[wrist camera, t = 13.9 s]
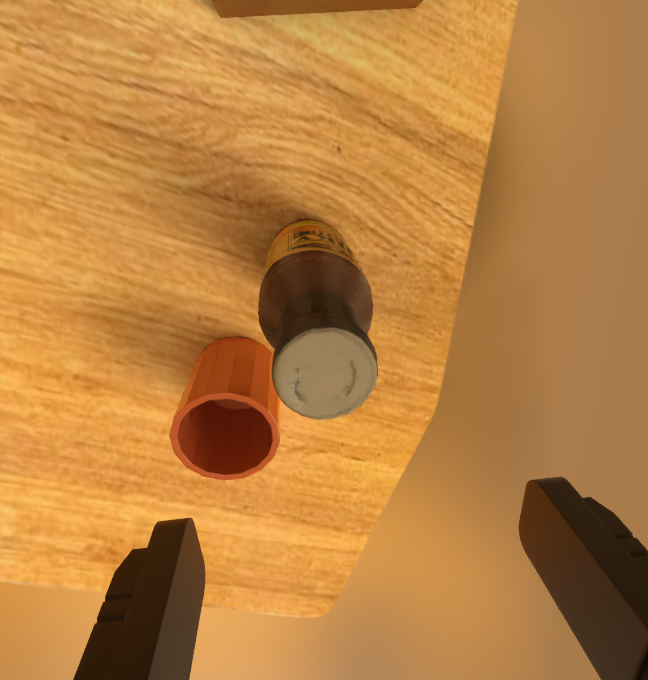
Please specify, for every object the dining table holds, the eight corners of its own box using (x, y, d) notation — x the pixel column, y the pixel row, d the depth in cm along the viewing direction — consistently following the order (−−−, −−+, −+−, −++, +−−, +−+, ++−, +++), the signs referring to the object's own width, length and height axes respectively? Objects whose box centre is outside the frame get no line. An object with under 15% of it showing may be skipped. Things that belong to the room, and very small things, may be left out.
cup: (274, 332, 37) (272, 387, 28) (283, 405, 40) (284, 473, 32) (186, 341, 36) (159, 399, 28) (202, 414, 39) (182, 485, 31)
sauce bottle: (361, 246, 34) (452, 364, 16) (315, 307, 36) (350, 474, 18) (295, 196, 32) (314, 267, 14) (250, 263, 34) (215, 403, 16)
